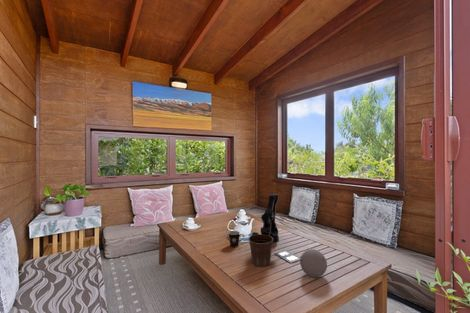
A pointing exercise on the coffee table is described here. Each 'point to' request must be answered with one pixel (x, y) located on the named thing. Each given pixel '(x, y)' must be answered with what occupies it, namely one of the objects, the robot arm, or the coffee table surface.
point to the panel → (288, 256)
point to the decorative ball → (313, 263)
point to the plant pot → (260, 249)
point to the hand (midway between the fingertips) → (263, 248)
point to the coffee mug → (234, 238)
